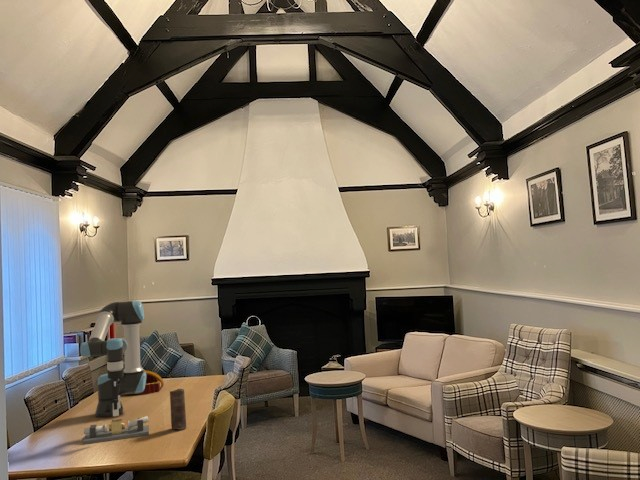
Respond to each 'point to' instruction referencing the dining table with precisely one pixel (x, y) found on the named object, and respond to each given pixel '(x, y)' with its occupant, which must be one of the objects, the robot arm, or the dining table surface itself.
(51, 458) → the dining table surface
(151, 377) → the decorative basket
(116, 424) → the coupler
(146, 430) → the shaft mount
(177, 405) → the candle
